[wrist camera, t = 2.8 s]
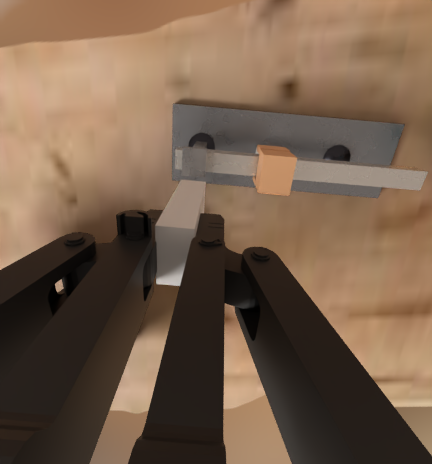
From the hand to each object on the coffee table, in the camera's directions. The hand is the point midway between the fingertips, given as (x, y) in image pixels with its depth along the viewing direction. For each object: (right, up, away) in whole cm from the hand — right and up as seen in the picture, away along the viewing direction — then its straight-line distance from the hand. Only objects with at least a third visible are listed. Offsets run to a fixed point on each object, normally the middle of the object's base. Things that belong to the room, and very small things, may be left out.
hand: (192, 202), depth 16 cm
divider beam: (+10, +9, +20) cm, 24 cm away
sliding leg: (+7, +9, +20) cm, 23 cm away
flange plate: (+11, +9, +21) cm, 26 cm away
